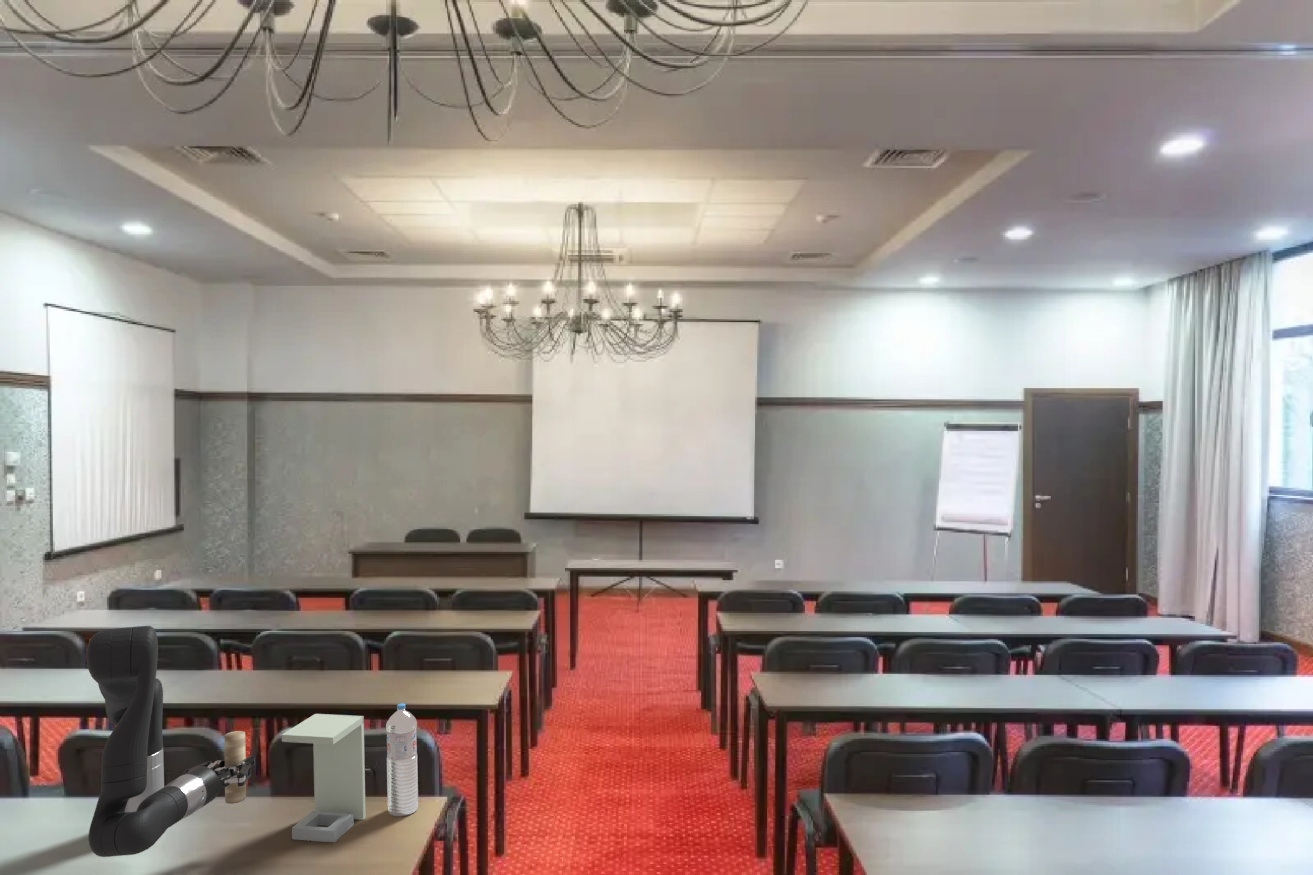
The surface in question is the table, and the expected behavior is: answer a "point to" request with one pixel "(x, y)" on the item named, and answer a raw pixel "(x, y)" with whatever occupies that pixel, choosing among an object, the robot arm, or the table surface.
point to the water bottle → (402, 763)
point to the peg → (233, 756)
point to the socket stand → (332, 774)
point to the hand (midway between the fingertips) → (242, 759)
